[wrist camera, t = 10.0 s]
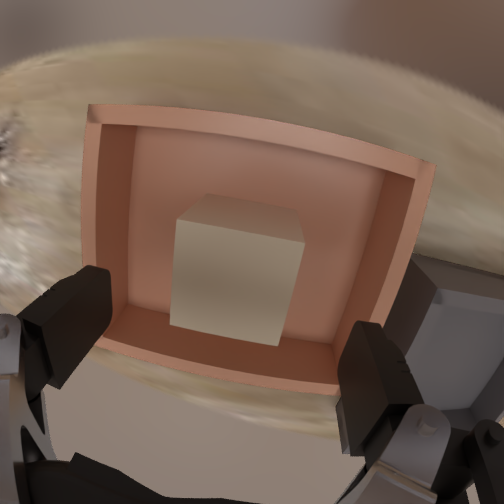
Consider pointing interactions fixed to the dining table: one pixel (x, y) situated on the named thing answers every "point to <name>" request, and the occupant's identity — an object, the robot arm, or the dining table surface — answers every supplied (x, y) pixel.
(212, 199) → the block
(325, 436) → the dining table surface
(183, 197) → the bin
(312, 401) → the dining table surface
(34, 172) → the dining table surface
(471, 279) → the bin
